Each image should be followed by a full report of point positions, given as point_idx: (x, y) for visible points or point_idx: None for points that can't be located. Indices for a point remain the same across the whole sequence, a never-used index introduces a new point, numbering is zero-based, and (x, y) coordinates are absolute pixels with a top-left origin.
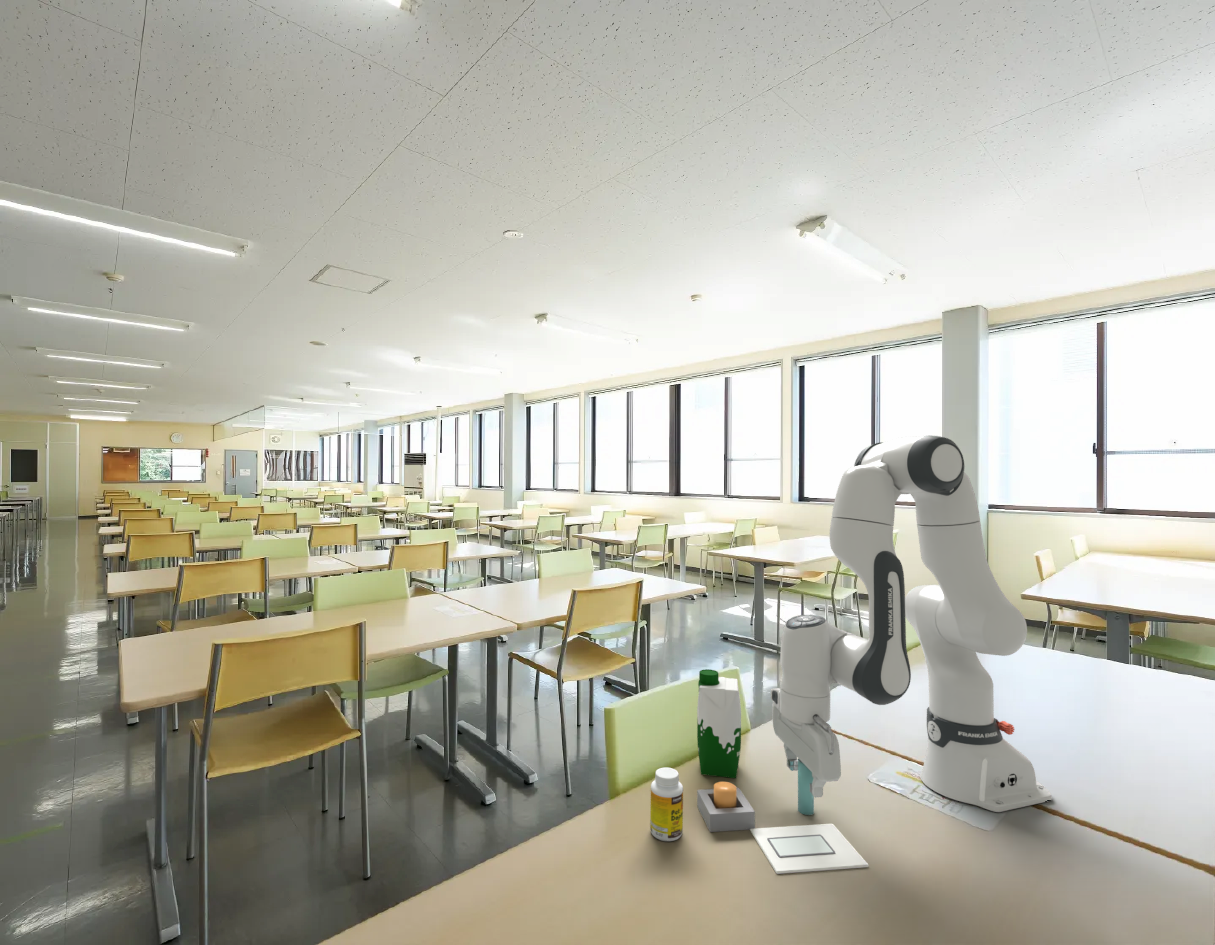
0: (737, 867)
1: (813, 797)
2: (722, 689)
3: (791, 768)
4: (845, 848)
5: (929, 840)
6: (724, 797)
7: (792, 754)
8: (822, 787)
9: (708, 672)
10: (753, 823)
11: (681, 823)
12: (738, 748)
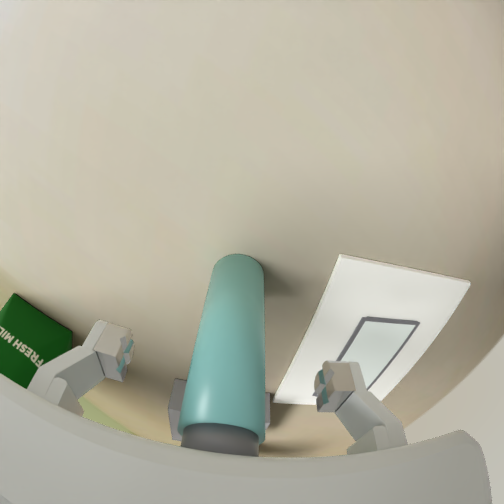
0: (337, 423)
1: (260, 301)
2: None
3: (131, 354)
4: (424, 294)
5: (482, 54)
6: None
7: (85, 374)
8: (365, 390)
9: None
10: (269, 403)
11: None
12: (30, 370)
